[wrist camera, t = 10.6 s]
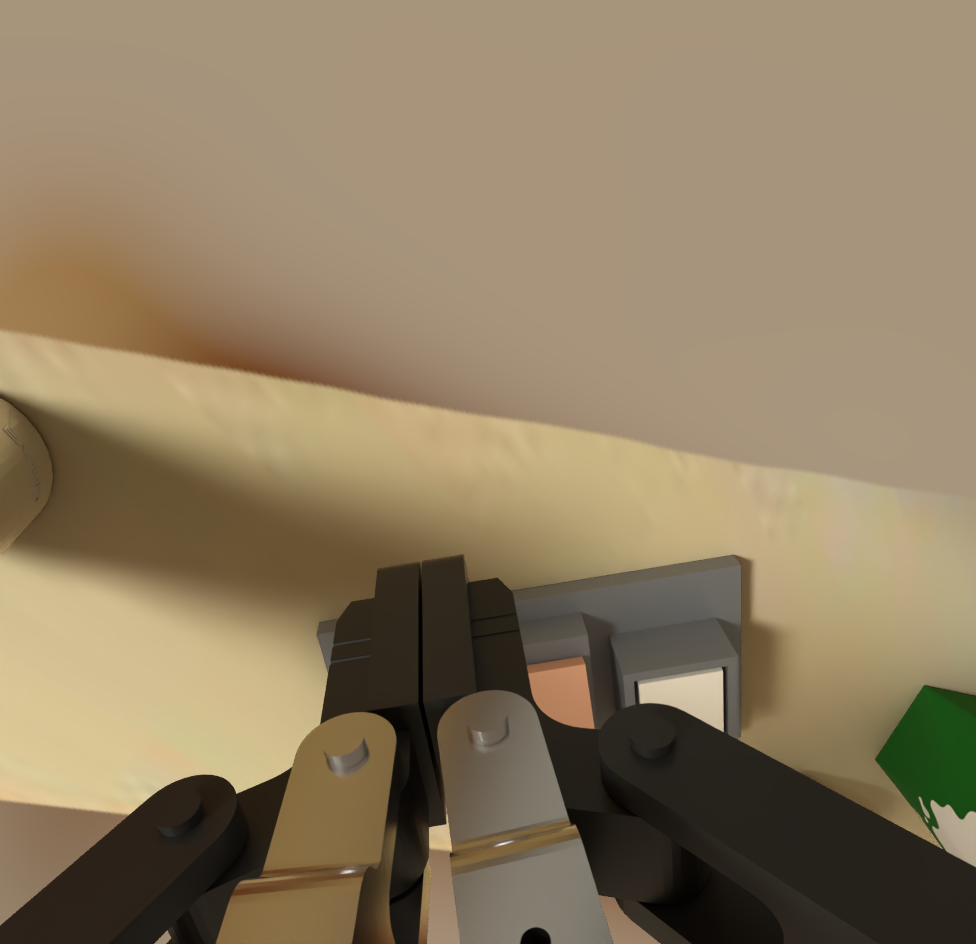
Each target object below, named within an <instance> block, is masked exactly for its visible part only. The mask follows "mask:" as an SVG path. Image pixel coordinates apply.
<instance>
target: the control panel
mask: <svg viewBox="0 0 976 944" xmlns="http://www.w3.org/2000/svg"><path fill="white" fill-rule="evenodd" d="M511 592H512V593H513V596H514V601H515V607H516V612H517V617H518V622H519V628H520V633H521V638H522V643H523V649H524V654H525V659H526V664H527V665H531V664H537V663H543V662H549V661H555V660H561V659H568V658H574V657H580V656H582V657H583V660H584V662H585V666H586V673H587V680H588V687H589V693H590V700H591V707H592V714H593V721H594V728H595V729H600V730H601V728H602V726H603V724H604V723H605V722H606V720H607V719H608V718H609V717H610V716H612V715H613V714H614V713H616V712H617V711H619V710H621V709H623V708H626V707H629V706H632V705H636V704H635V690H634V681H640V680H646V679H652V678H658V677H664V676H670V675H677V674H683V673H689V672H695V671H701V670H707V669H713V668H719V667H721V668H722V670H723V722H724V733H726V734H728V735H730V736H732V737H734V738H735V739H737V740H738V737H741V564H740V563H739V561H738V560H737V559H736V557H735V556H734V555H730V556H724V557H718V558H712V559H706V560H699V561H693V562H687V563H681V564H675V565H669V566H663V567H657V568H650V569H644V570H638V571H632V572H626V573H620V574H614V575H607V576H601V577H595V578H589V579H583V580H577V581H571V582H565V583H558V584H552V585H546V586H540V587H534V588H528V589H522V590H516V591H511ZM337 621H338V620H332V621H325V622H319V626H318V631H317V637H318V640H319V643H320V647H321V650H322V654H323V657H324V661H325V664H326V667H327V671H328V672H329V666H330V665H331V661H330V659H331V653H332V647H334V646H333V640H334V634H335V628H336V622H337Z"/></svg>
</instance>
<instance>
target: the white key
mask: <svg viewBox="0 0 976 944" xmlns="http://www.w3.org/2000/svg"><path fill="white" fill-rule="evenodd" d="M634 690H635V704H643V703H659V704H665V705H669V706H673V707H676V708H678V709H681V710H683V711H685V712H687V713H689V714H691V715H692V716H694V717H696V718H698V719H700V720H702V721H704V722H706V723H707V724H709V725H711V726H713V727H715V728H717V729H719V730H720V731H722V732H724V722H723V670H722V668H721V667H719V668H713V669H707V670H701V671H695V672H689V673H683V674H677V675H670V676H664V677H658V678H652V679H646V680H640V681H634Z"/></svg>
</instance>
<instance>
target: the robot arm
mask: <svg viewBox="0 0 976 944" xmlns="http://www.w3.org/2000/svg"><path fill="white" fill-rule="evenodd" d="M52 483H53V472H52V463H51V460H50V456H49V453H48V450H47V447H46V445H45V444H44V442H43V440H42V438H41V436H40V434H39V433H38V431H37V430H36V429H35V428H34V426H33V425H32V424H31V423H30V422H29V420H28V419H27V418H26V417H25V416H24V415H23V414H22V413H20V412H19V411H18V410H17V409H16V408H14V407H13V406H12V405H11V404H10V403H8V402H6V401H5V400H3V399H1V398H0V556H1V555H2V554H3V553H4V552H5V551H6V549H7V548H8V547H9V546H10V545H11V544H12V543H13V542H14V541H15V539H16V538H17V537H18V536H19V535H20V534H21V533H22V532H23V530H24V529H25V528H26V527H27V526H28V525H29V524H30V523H31V522H32V520H33V519H34V518H35V517H36V516H37V515H38V514H39V513H40V512H41V511H42V509H43V508H44V506H45V504H46V502H47V500H48V498H49V496H50V493H51V488H52ZM333 646H334V647H332V653H331V659H330V661H331V665H330V666H329V672H328V678H327V685H326V691H325V697H324V704H323V710H322V716H321V723H320V725H319V726H318V727H316V728H315V729H313V730H312V731H311V732H310V733H309V734H308V735H307V736H306V737H305V739H304V740H303V741H302V743H301V744H300V746H299V748H298V750H297V753H296V756H295V759H294V763H293V766H292V767H291V768H290V769H289V770H287V771H285V772H284V773H282V774H281V775H279V776H277V777H275V778H272V779H270V780H268V781H266V782H263V783H261V784H259V785H256V786H254V787H252V788H249V789H247V790H245V791H242V792H240V793H238V794H236V792H235V789H234V787H233V786H232V785H231V783H230V782H228V781H227V780H226V779H224V778H221V777H219V776H215V775H196V776H191V777H187V778H184V779H181V780H178V781H175V782H173V783H171V784H169V785H167V786H166V787H164V788H162V789H161V790H159V791H158V792H156V793H155V794H154V795H152V796H151V797H150V798H149V799H147V800H146V801H145V802H144V803H143V804H142V805H140V806H139V807H138V808H137V809H136V810H135V811H133V812H132V813H131V814H130V815H129V816H128V817H126V818H125V819H124V820H123V821H122V822H121V823H119V824H118V825H117V826H116V827H115V828H114V829H112V830H111V831H110V832H109V833H108V834H107V835H105V836H104V837H103V838H102V839H101V840H100V841H98V842H97V843H96V844H95V845H94V846H93V847H91V848H90V849H89V850H88V851H87V852H86V853H85V854H83V855H82V856H81V857H80V858H79V859H77V860H76V861H75V862H74V863H73V864H72V865H70V866H69V867H68V868H67V869H66V870H65V871H64V872H62V873H61V874H60V875H59V876H58V877H56V878H55V879H54V880H53V881H52V882H51V883H49V884H48V885H47V886H46V887H45V888H44V889H42V890H41V891H40V892H39V893H38V894H37V895H36V896H34V897H33V898H32V899H31V900H30V901H28V902H27V903H26V904H25V905H24V906H23V907H21V908H20V909H19V910H18V911H17V912H16V913H14V914H13V915H12V916H11V917H10V918H9V919H8V920H6V921H5V922H4V923H3V924H2V925H1V926H0V944H154V943H155V942H156V941H157V940H158V939H159V938H160V937H161V936H162V935H163V934H164V933H165V932H166V931H167V930H168V932H169V934H170V936H171V939H170V940H169V942H168V943H167V944H427V934H428V919H429V904H430V889H431V871H430V867H429V863H428V858H429V827H432V826H438V825H444V824H446V806H447V814H448V822H449V829H450V837H451V844H452V853H450V864H451V873H452V881H453V889H454V897H455V905H456V913H457V921H458V928H459V936H460V944H614V943H613V940H612V936H611V933H610V930H609V927H608V923H607V920H606V917H605V914H604V911H603V908H602V904H601V901H600V898H599V895H602V896H608V897H614V898H615V899H616V901H617V903H618V905H619V907H620V908H621V910H623V912H624V913H625V915H627V916H628V917H629V918H630V919H631V920H632V921H633V922H634V923H636V924H637V925H638V926H640V927H641V928H642V929H643V930H645V931H646V932H647V933H648V934H649V935H651V936H652V937H653V938H654V939H656V940H657V941H658V942H660V943H661V944H976V867H975V866H973V865H971V864H969V863H967V862H965V861H963V860H962V859H960V858H958V857H956V856H954V855H952V854H950V853H948V852H947V851H945V850H943V849H941V848H939V847H937V846H935V845H934V844H932V843H930V842H928V841H926V840H924V839H922V838H920V837H919V836H917V835H915V834H913V833H911V832H909V831H907V830H905V829H904V828H902V827H900V826H898V825H896V824H894V823H892V822H891V821H889V820H887V819H885V818H883V817H881V816H879V815H877V814H876V813H874V812H872V811H870V810H868V809H866V808H864V807H862V806H861V805H859V804H857V803H855V802H853V801H851V800H849V799H848V798H846V797H844V796H842V795H840V794H838V793H836V792H834V791H833V790H831V789H829V788H827V787H825V786H823V785H821V784H820V783H818V782H816V781H814V780H812V779H810V778H808V777H806V776H805V775H803V774H801V773H799V772H797V771H795V770H793V769H791V768H790V767H788V766H786V765H784V764H782V763H780V762H778V761H777V760H775V759H773V758H771V757H769V756H767V755H765V754H763V753H762V752H760V751H758V750H756V749H754V748H752V747H750V746H749V745H747V744H745V743H743V742H741V741H739V740H737V739H735V738H734V737H732V736H730V735H728V734H726V733H724V732H722V731H720V730H719V729H717V728H715V727H713V726H711V725H709V724H707V723H706V722H704V721H702V720H700V719H698V718H696V717H694V716H692V715H691V714H689V713H687V712H685V711H683V710H681V709H678V708H676V707H673V706H669V705H665V704H659V703H643V704H636V705H632V706H629V707H626V708H623V709H621V710H619V711H617V712H616V713H614V714H613V715H612V716H610V717H609V718H608V719H607V720H606V722H605V723H604V724H603V726H602V728H601V730H600V729H589V728H580V727H573V726H569V725H566V724H563V723H560V722H558V721H556V720H554V719H552V718H550V717H549V716H547V715H546V714H545V713H544V712H543V711H542V710H541V709H540V708H539V707H538V706H537V704H536V702H535V701H534V698H533V695H532V691H531V686H530V680H529V675H528V670H527V664H526V659H525V654H524V649H523V643H522V638H521V633H520V628H519V622H518V617H517V612H516V607H515V601H514V596H513V593H512V592H511V591H510V590H509V589H508V588H507V587H506V586H505V585H504V584H503V583H502V582H501V581H500V580H499V579H498V578H493V579H487V580H481V581H475V582H469V580H468V574H467V569H466V563H465V558H464V555H457V556H450V557H444V558H438V559H432V560H426V561H423V562H422V567H421V564H420V562H414V563H408V564H402V565H396V566H390V567H384V568H378V570H377V579H376V590H375V598H372V599H365V600H359V601H353V602H351V603H350V604H349V606H348V607H347V608H346V610H345V611H344V612H343V614H342V615H341V617H340V618H339V619H338V621H337V622H336V628H335V634H334V640H333ZM445 799H446V800H445Z"/></svg>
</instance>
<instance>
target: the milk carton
mask: <svg viewBox="0 0 976 944" xmlns="http://www.w3.org/2000/svg"><path fill="white" fill-rule="evenodd" d="M875 760H876V761H877V762H878V764H879V765H880V766H881V768H882V769H883V770H884V771H885V773H886V774H887V775H888V777H889V778H890V779H891V780H892V782H893V783H894V784H895V786H896V787H897V788H898V789H899V791H900V792H901V793H902V795H903V796H904V797H905V798H906V800H907V801H908V802H909V804H910V805H911V806H912V807H913V809H914V810H915V811H916V813H917V814H918V815H919V816H920V818H921V819H922V820H923V822H924V823H925V824H926V826H927V827H928V828H929V830H930V831H931V833H932V834H933V836H934V837H935V838H936V840H937V841H938V843H939V844H940V846H941V847H942V848H943V850H945V851H947V852H948V853H950V854H952V855H954V856H956V857H958V858H960V859H962V860H963V861H965V862H967V863H969V864H971V865H973V866H975V867H976V696H971V695H966V694H962V693H957V692H952V691H947V690H942V689H938V688H933V687H928V686H924V687H923V688H922V690H921V691H920V693H919V694H918V696H917V697H916V699H915V700H914V702H913V703H912V705H911V706H910V708H909V709H908V711H907V712H906V714H905V715H904V717H903V718H902V720H901V721H900V723H899V724H898V726H897V727H896V729H895V730H894V732H893V734H892V735H891V737H890V738H889V740H888V741H887V743H886V744H885V746H884V747H883V749H882V750H881V752H880V753H879V755H878V756H877V758H876V759H875Z"/></svg>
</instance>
